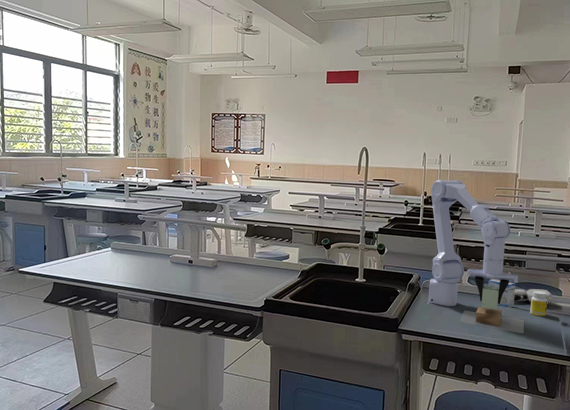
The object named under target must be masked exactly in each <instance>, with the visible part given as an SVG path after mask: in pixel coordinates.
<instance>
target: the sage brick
mask: <svg viewBox="0 0 570 410" xmlns="http://www.w3.org/2000/svg"><path fill="white" fill-rule="evenodd" d="M498 296H499V288H498V287H491V286H488V285H484V287H483V293H482V301H481V306H480V307H482V308H488V309H495V310H498V309H499V306H498Z"/></svg>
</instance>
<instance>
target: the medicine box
mask: <svg viewBox="0 0 570 410" xmlns="http://www.w3.org/2000/svg"><path fill="white" fill-rule="evenodd" d="M499 284H500V280H495V279H489V280H488V285H487V286H491V287H498V288H499ZM515 289H516V283H514V282H510V281H509V284H508V286H507V287H506V289H505V291H504V293H503V295H502V297H501V301H500V304H498V307H504V308H510V309H511V308H514V302H515V300H514V295H515Z"/></svg>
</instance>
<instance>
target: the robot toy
mask: <svg viewBox="0 0 570 410" xmlns="http://www.w3.org/2000/svg"><path fill="white" fill-rule="evenodd" d="M533 291H542V292H545V293H547V297H546V299H547V302H550V303H551V302H552V301H553V298H552V296H553V294H552V293H551V292H549V290H548V289H538V288H537V289H535V288H530V289H528V290H527V291H526V290H525V289H519V288H518V289H517V288H515V295H514V302H517V303H518V302H519V303H520V302H526V301H527V300H528V301H529V303H531V298H532V297H533Z"/></svg>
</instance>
